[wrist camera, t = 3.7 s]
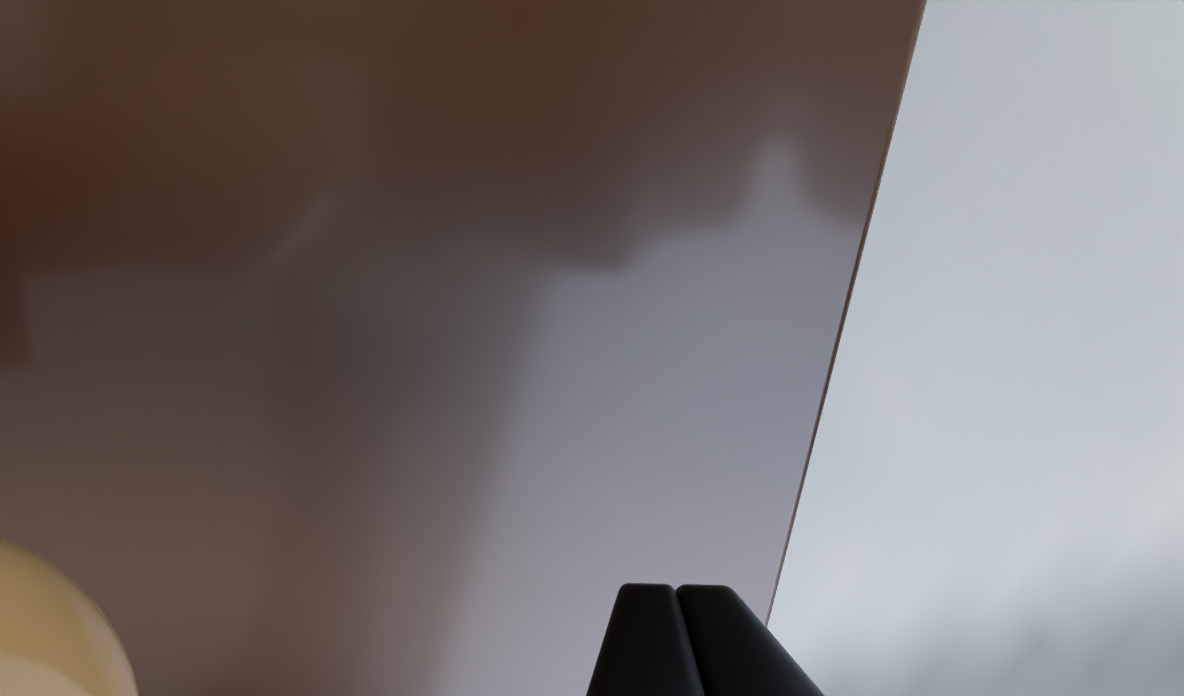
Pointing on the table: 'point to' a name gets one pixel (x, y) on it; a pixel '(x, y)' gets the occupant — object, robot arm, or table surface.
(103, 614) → the bottle
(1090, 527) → the table surface
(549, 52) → the riser
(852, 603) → the table surface
